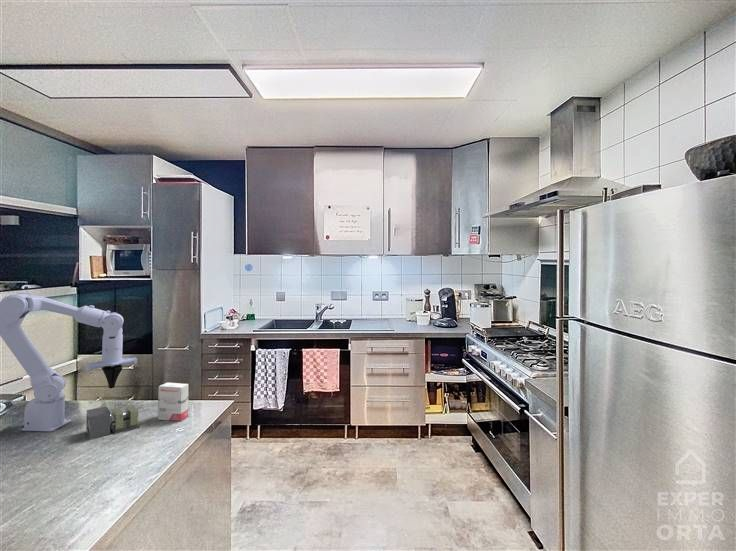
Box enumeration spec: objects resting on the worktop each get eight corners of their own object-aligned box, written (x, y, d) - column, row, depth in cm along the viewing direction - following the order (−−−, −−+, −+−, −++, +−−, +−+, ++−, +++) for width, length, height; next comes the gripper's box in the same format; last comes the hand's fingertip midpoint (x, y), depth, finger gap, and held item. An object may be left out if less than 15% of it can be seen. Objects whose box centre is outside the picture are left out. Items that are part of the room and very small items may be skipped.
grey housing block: (89, 439, 108) (90, 416, 108) (86, 431, 113) (86, 410, 113) (110, 434, 112) (110, 412, 112) (105, 426, 117) (106, 406, 117)
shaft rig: (90, 440, 108) (90, 420, 108) (85, 431, 113) (86, 412, 113) (140, 427, 117) (140, 409, 117) (133, 419, 123) (134, 402, 123)
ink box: (189, 416, 128) (190, 383, 127) (180, 421, 123) (181, 387, 122) (166, 414, 128) (167, 381, 128) (156, 419, 124) (157, 385, 123)
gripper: (88, 353, 116) (87, 395, 116) (139, 347, 126) (138, 386, 126) (84, 349, 121) (83, 389, 121) (134, 344, 131) (133, 381, 131)
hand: (111, 387), depth 124 cm, fingers closed
